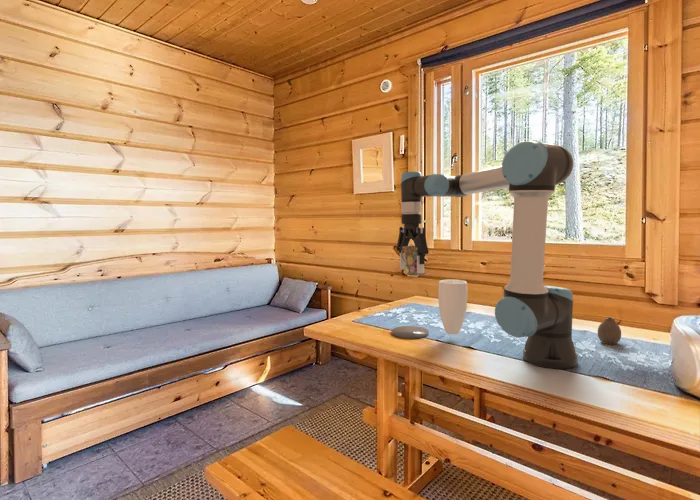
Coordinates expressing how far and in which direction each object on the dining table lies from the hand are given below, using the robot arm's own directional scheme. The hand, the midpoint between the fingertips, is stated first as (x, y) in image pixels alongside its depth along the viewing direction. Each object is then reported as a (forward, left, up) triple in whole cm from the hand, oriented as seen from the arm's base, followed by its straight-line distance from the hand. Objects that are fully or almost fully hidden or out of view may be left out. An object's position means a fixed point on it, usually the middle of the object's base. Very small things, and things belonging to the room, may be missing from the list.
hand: (411, 271), depth 155 cm
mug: (0, 0, -1) cm, 1 cm away
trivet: (-1, +1, -24) cm, 24 cm away
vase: (-43, -53, -24) cm, 72 cm away
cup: (-15, -7, -24) cm, 29 cm away
